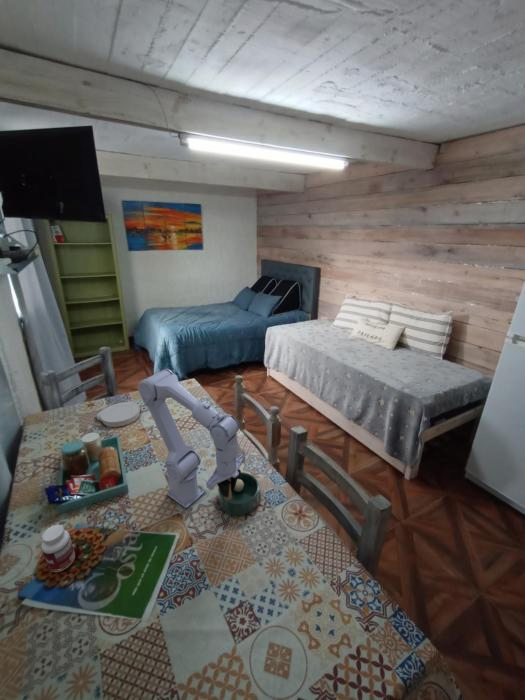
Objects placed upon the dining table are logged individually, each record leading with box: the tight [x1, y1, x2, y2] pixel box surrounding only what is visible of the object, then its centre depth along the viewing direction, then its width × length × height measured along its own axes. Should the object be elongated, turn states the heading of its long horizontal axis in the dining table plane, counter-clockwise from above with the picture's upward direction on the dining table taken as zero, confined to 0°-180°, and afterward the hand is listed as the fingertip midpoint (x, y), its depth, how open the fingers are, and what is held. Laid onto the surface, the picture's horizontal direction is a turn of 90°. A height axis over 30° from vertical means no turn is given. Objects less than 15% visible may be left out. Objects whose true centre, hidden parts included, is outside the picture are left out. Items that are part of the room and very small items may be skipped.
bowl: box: [217, 471, 260, 517], centre depth 104 cm, size 13×13×5 cm
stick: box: [225, 477, 232, 500], centre depth 94 cm, size 2×2×8 cm
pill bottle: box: [41, 524, 76, 573], centre depth 83 cm, size 6×6×11 cm
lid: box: [96, 401, 141, 428], centre depth 149 cm, size 17×20×3 cm
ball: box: [234, 479, 244, 492], centre depth 106 cm, size 4×4×4 cm
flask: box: [235, 432, 244, 456], centre depth 122 cm, size 7×7×10 cm
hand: (227, 492), depth 95 cm, fingers closed on stick, 2 cm apart
